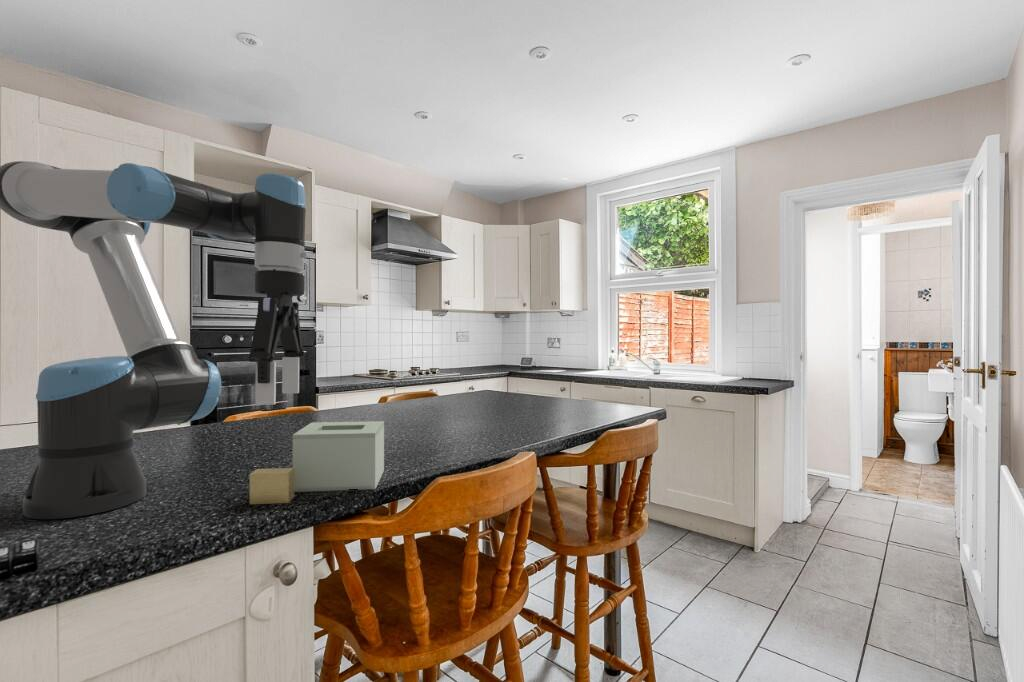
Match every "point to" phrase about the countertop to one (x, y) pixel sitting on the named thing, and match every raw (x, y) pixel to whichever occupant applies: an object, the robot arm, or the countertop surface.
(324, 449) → the coin box
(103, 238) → the robot arm
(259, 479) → the block
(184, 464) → the countertop surface
